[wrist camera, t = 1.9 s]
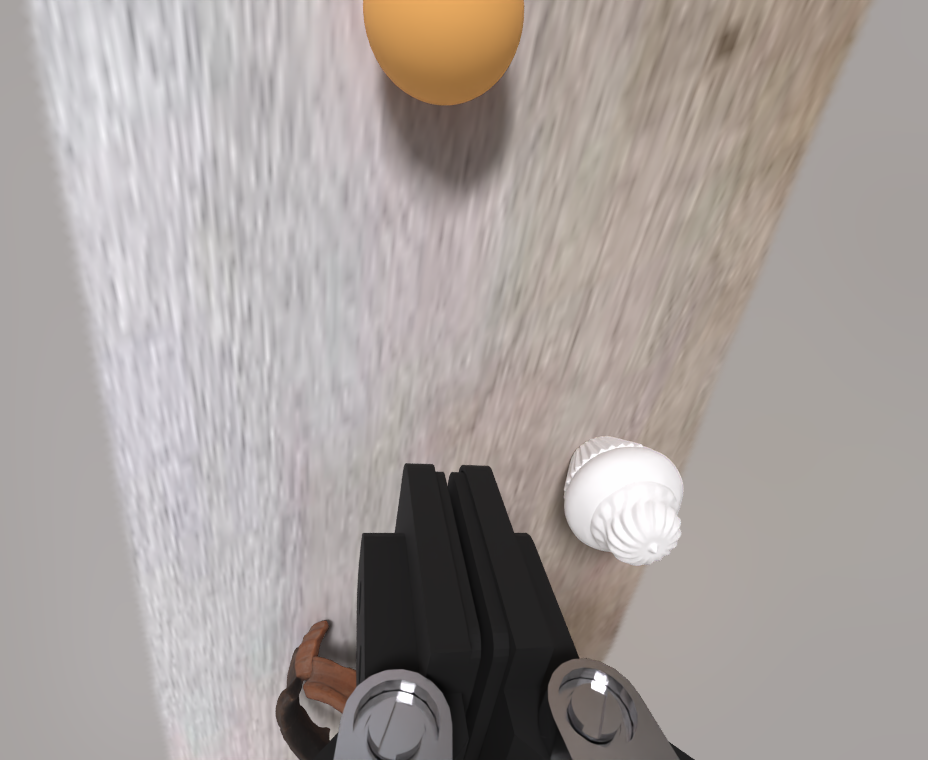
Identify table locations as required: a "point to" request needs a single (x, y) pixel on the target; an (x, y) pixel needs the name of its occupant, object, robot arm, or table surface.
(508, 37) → the ball
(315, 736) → the broken clay pot
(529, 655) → the robot arm
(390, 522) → the table surface
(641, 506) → the muffin
